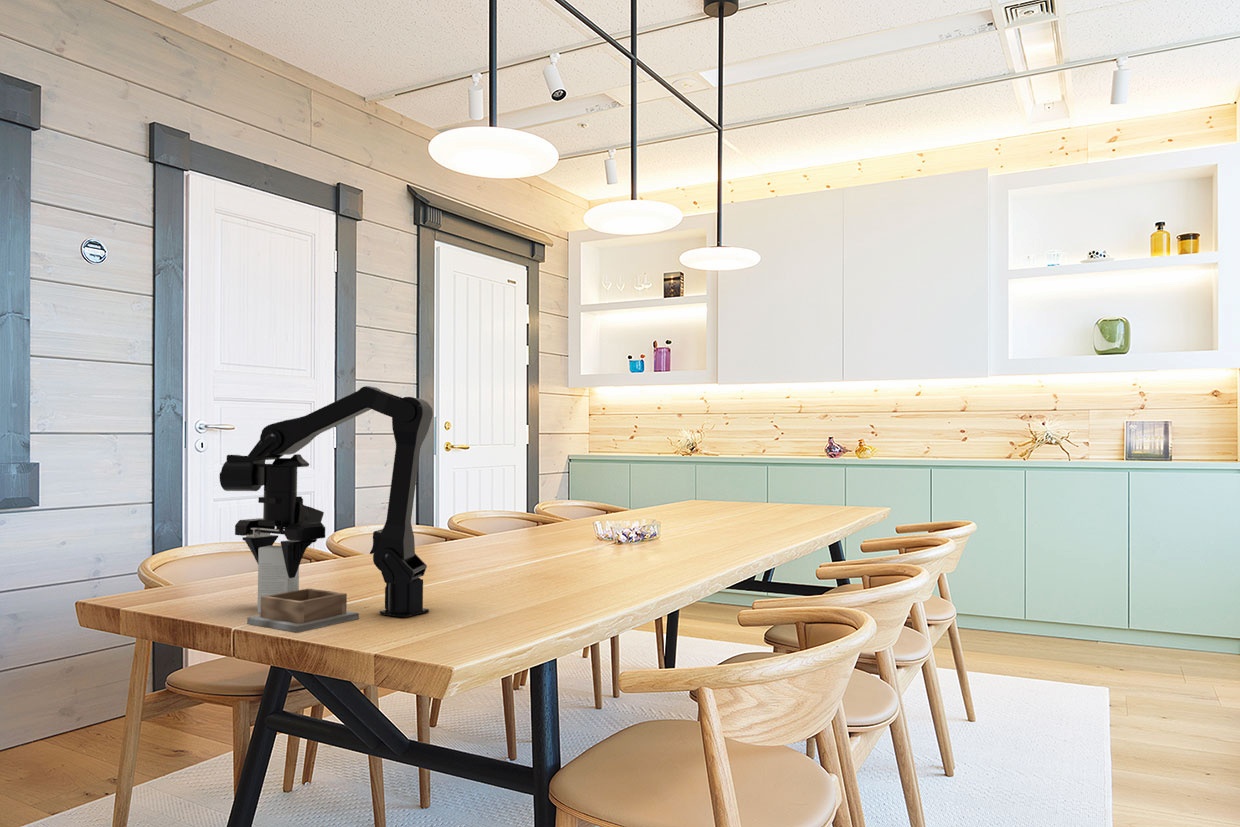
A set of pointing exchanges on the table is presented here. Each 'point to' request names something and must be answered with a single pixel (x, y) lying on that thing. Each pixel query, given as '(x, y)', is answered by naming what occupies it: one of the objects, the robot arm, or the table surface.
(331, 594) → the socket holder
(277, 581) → the skincare box
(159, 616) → the table surface
